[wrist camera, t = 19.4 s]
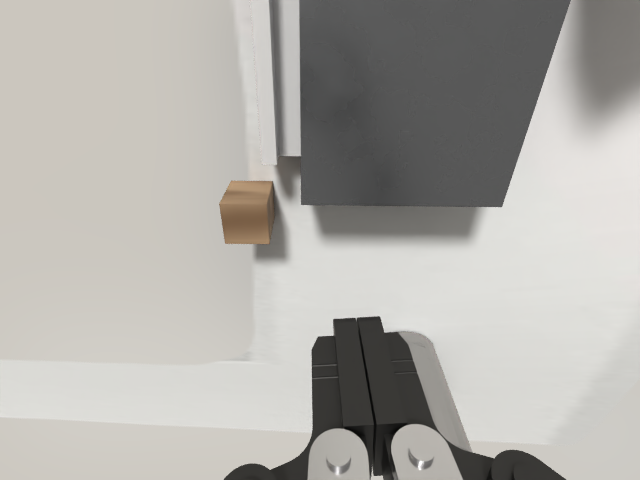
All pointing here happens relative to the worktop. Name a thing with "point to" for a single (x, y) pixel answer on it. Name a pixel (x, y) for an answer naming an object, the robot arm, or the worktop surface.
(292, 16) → the tray
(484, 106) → the housing
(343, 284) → the worktop surface
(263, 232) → the wooden block
